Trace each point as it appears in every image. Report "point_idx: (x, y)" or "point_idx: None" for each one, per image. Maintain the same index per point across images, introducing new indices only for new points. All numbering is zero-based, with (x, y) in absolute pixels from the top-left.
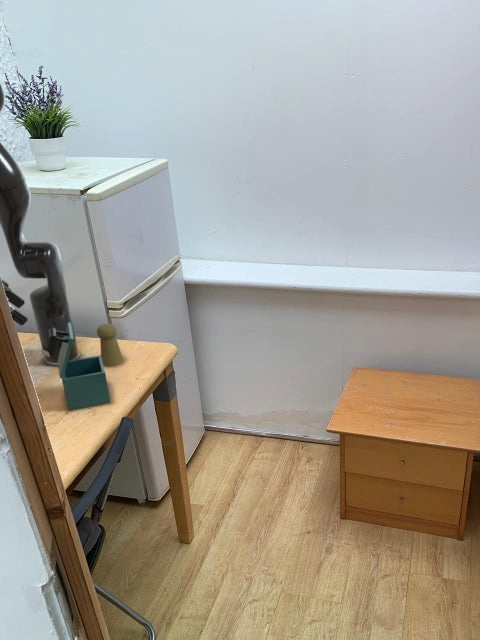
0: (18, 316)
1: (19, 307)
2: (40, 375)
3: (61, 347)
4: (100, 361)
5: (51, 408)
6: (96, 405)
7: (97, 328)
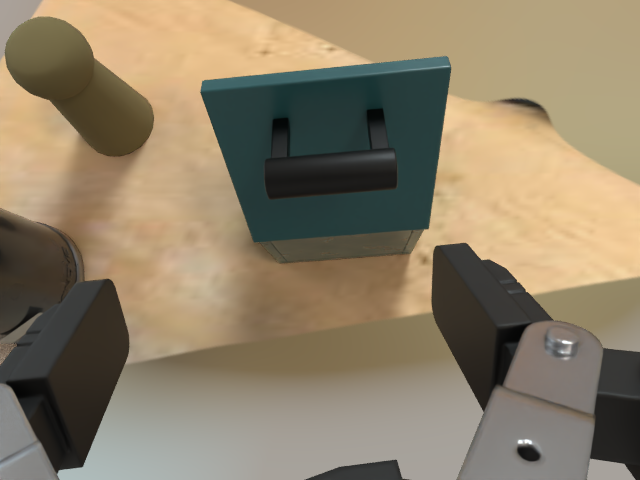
0: (530, 302)
1: (126, 339)
2: None
3: (253, 198)
4: None
5: (377, 309)
6: None
7: (30, 82)
